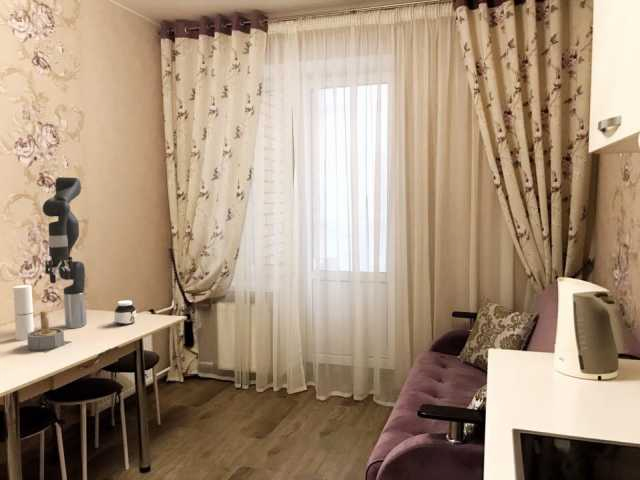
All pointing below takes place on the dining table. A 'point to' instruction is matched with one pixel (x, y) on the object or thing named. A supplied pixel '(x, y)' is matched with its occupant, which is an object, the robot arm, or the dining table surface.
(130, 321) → the spread jar
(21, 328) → the cylindrical container
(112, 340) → the dining table surface
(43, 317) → the wick
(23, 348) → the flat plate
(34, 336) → the grey octagonal bowl
